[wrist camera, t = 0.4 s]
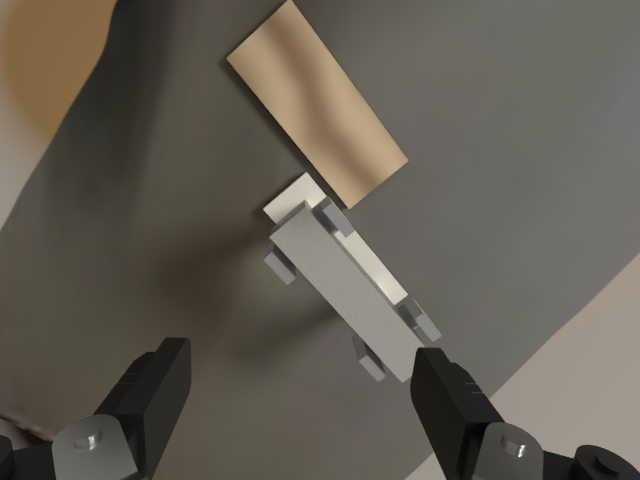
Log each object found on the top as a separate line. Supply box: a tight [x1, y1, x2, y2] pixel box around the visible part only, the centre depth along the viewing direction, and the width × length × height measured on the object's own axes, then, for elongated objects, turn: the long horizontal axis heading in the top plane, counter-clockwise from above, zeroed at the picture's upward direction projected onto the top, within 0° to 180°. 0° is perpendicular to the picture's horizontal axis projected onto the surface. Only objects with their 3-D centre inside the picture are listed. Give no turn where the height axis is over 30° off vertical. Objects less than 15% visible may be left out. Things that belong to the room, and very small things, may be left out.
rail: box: [269, 200, 428, 383], centre depth 29 cm, size 4×17×4 cm, turn 40°
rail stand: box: [263, 172, 442, 382], centre depth 34 cm, size 7×19×12 cm, turn 40°
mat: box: [226, 0, 408, 209], centre depth 35 cm, size 8×19×1 cm, turn 40°
